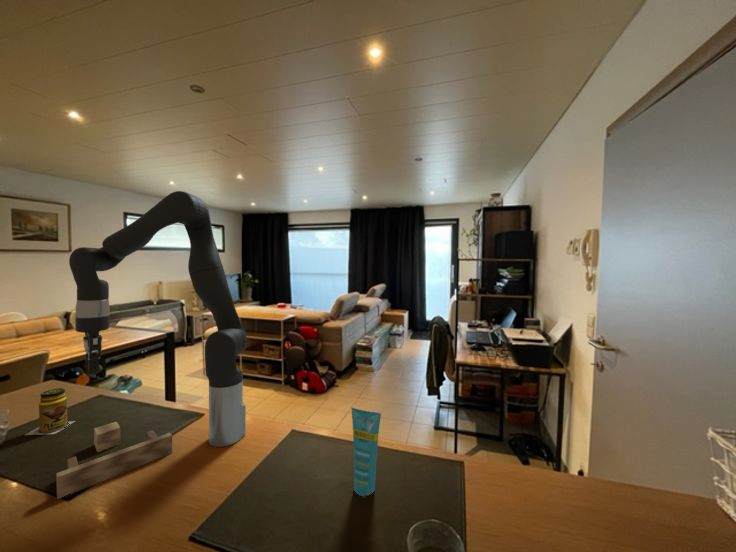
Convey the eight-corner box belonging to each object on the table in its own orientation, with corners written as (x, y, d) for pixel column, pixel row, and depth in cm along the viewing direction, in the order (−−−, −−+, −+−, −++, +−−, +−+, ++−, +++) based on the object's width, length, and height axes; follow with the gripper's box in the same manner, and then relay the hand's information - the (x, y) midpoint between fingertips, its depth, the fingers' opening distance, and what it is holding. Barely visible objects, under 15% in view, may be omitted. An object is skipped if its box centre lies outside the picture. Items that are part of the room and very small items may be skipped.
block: (116, 437, 89) (116, 421, 89) (120, 444, 86) (120, 427, 86) (94, 445, 85) (94, 428, 85) (97, 452, 82) (97, 434, 82)
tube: (346, 493, 68) (347, 411, 68) (353, 479, 73) (354, 402, 72) (377, 501, 66) (378, 417, 66) (382, 486, 71) (384, 407, 70)
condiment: (55, 434, 90) (55, 395, 90) (23, 435, 89) (23, 396, 89) (75, 421, 98) (75, 385, 97) (46, 423, 96) (45, 386, 96)
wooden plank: (162, 440, 88) (162, 423, 88) (172, 452, 82) (172, 435, 82) (54, 480, 71) (54, 459, 71) (57, 499, 65) (57, 477, 65)
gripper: (113, 316, 87) (112, 371, 87) (106, 310, 96) (105, 359, 97) (77, 319, 81) (76, 377, 82) (73, 312, 91) (73, 364, 91)
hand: (92, 367), depth 89 cm, fingers open, 8 cm apart
